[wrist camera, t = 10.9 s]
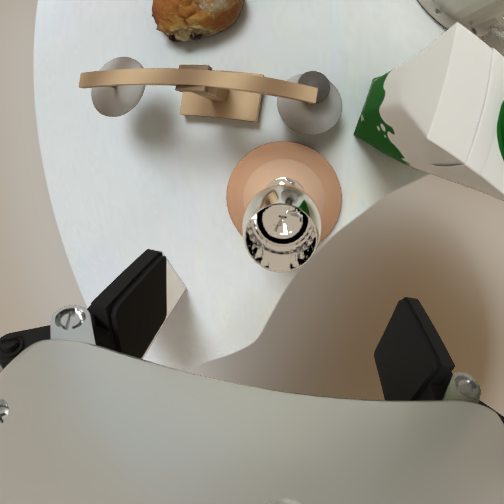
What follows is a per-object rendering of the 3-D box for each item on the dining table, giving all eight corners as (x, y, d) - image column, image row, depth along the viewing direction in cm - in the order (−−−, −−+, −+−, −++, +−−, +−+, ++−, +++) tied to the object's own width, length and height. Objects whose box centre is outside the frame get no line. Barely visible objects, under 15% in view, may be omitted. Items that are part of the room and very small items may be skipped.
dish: (349, 154, 27) (352, 155, 26) (325, 258, 32) (327, 262, 31) (236, 133, 28) (234, 133, 27) (222, 239, 33) (220, 243, 32)
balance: (340, 87, 25) (373, 56, 13) (331, 140, 27) (360, 143, 16) (130, 70, 26) (60, 52, 15) (123, 117, 28) (50, 119, 17)
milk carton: (412, 173, 27) (540, 233, 9) (341, 138, 27) (431, 146, 9) (436, 105, 24) (571, 101, 5) (366, 67, 23) (466, -8, 5)
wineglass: (323, 189, 28) (344, 225, 17) (293, 235, 30) (294, 293, 19) (274, 160, 28) (263, 176, 17) (246, 207, 30) (220, 252, 19)
